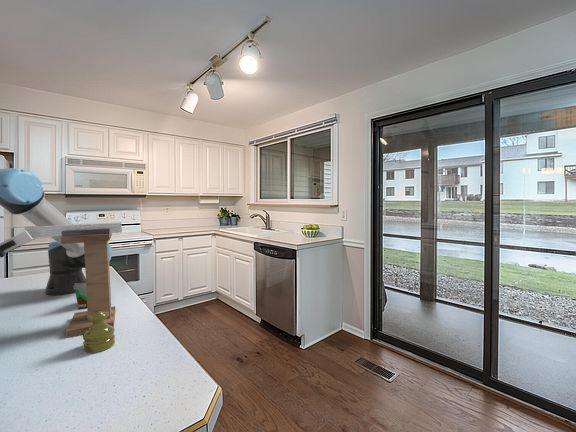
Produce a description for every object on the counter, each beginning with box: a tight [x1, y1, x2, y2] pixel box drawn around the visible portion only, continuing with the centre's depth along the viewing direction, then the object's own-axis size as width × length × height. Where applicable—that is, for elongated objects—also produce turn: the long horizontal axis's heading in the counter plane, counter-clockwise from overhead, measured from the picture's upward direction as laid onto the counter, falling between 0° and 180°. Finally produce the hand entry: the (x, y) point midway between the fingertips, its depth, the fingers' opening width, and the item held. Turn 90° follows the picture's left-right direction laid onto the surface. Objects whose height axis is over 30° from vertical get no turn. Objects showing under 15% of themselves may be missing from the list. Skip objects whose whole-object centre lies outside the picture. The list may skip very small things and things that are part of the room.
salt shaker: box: [82, 310, 116, 354], centre depth 81 cm, size 7×8×10 cm
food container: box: [73, 282, 87, 310], centre depth 113 cm, size 12×6×10 cm, turn 168°
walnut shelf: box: [61, 229, 116, 339], centre depth 95 cm, size 16×12×32 cm
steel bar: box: [24, 222, 123, 238], centre depth 90 cm, size 3×24×3 cm, turn 119°
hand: (35, 232), depth 85 cm, fingers open, 13 cm apart
